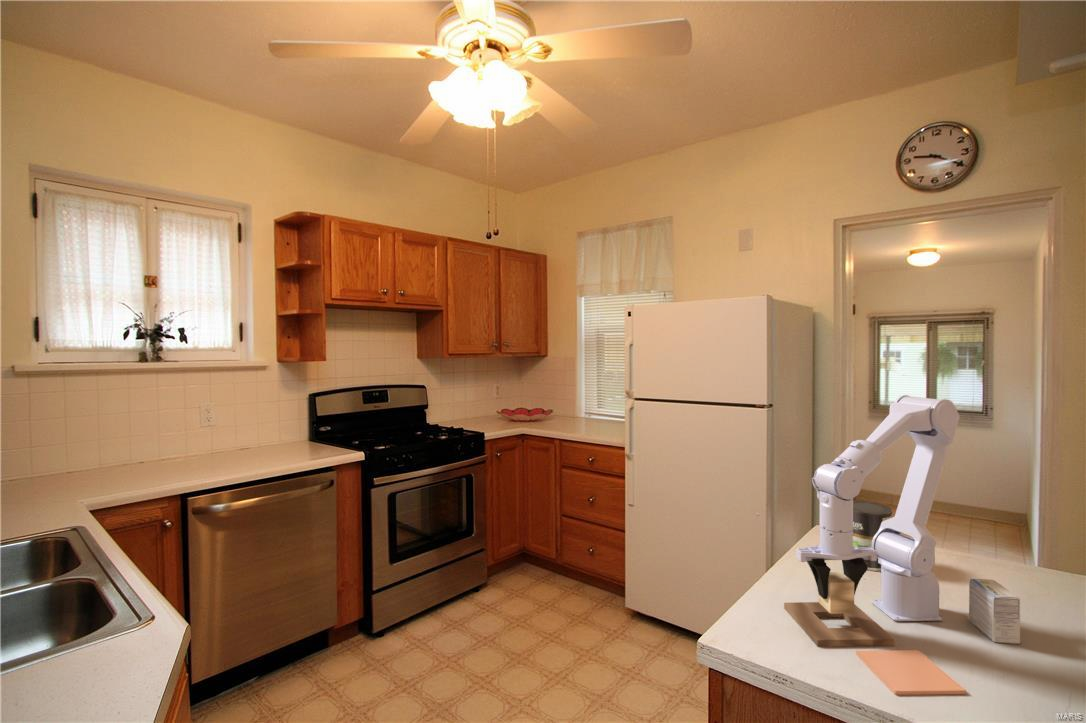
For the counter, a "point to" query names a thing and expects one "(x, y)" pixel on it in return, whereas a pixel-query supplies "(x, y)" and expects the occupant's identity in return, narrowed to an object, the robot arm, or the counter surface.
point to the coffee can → (868, 525)
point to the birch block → (839, 594)
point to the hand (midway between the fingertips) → (836, 596)
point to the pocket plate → (821, 635)
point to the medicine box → (994, 610)
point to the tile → (909, 672)
